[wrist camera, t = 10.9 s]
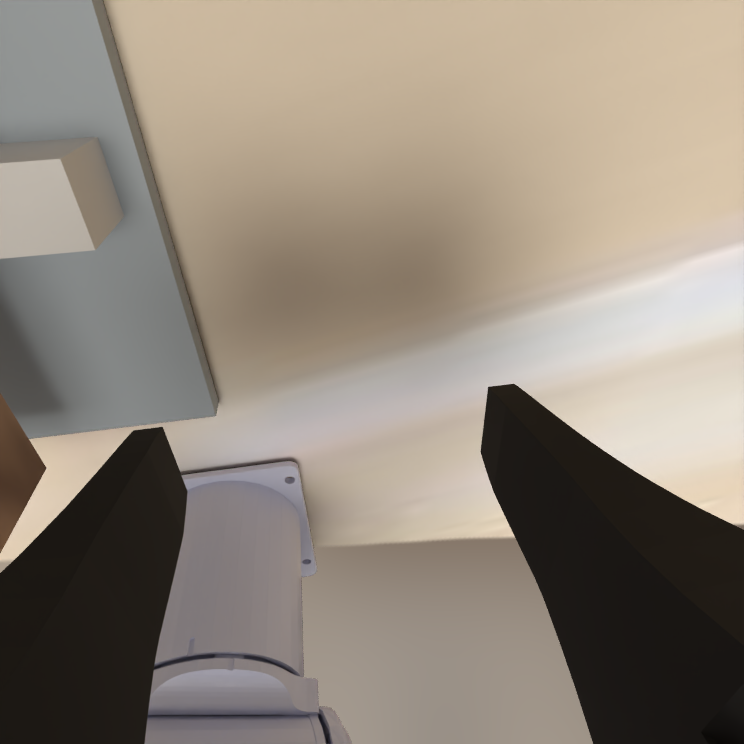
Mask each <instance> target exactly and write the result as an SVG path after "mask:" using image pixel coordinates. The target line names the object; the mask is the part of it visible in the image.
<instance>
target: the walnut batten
mask: <svg viewBox="0 0 744 744" xmlns="http://www.w3.org/2000/svg"><path fill="white" fill-rule="evenodd" d="M45 470H46V467H45V465H44V463H43V462H42V460H41V458H40V457H39V455H38V454H37V452H36V450H35V449H34V447H33V445H32V444H31V442H30V441H29V439H28V437H27V436H26V434H25V432H24V431H23V429H22V427H21V426H20V424H19V423H18V421H17V419H16V418H15V416H14V414H13V413H12V411H11V409H10V408H9V406H8V405H7V403H6V401H5V400H4V398H3V396H2V395H1V393H0V553H1V551H2V549H3V547H4V545H5V543H6V542H7V540H8V538H9V536H10V534H11V532H12V531H13V529H14V527H15V525H16V523H17V521H18V520H19V518H20V516H21V514H22V512H23V510H24V508H25V507H26V505H27V503H28V501H29V499H30V497H31V496H32V494H33V492H34V490H35V488H36V486H37V484H38V483H39V481H40V479H41V477H42V475H43V473H44V472H45Z"/></svg>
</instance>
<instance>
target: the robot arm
mask: <svg viewBox="0 0 744 744" xmlns="http://www.w3.org/2000/svg"><path fill="white" fill-rule="evenodd" d="M481 455H482V458H483V461H484V464H485V468H486V471H487V474H488V477H489V480H490V483H491V485H492V488H493V491H494V493H495V496H496V498H497V500H498V502H499V504H500V506H501V508H502V511H503V513H504V515H505V517H506V519H507V521H508V523H509V525H510V527H511V529H512V531H513V534H514V536H515V538H516V540H517V542H518V544H519V546H520V548H521V550H522V552H523V554H524V556H525V558H526V561H527V563H528V565H529V567H530V569H531V571H532V573H533V575H534V577H535V579H536V582H537V584H538V586H539V589H540V591H541V593H542V595H543V598H544V601H545V603H546V606H547V609H548V611H549V614H550V617H551V620H552V623H553V625H554V628H555V631H556V633H557V636H558V639H559V642H560V644H561V647H562V650H563V653H564V656H565V659H566V662H567V665H568V668H569V671H570V673H571V676H572V679H573V682H574V685H575V688H576V691H577V694H578V698H579V700H580V704H581V707H582V710H583V713H584V716H585V719H586V722H587V726H588V729H589V732H590V735H591V738H592V741H593V744H744V530H743V529H741V528H739V527H737V526H735V525H733V524H731V523H729V522H726V521H724V520H722V519H720V518H718V517H716V516H714V515H712V514H710V513H708V512H706V511H704V510H702V509H700V508H698V507H696V506H695V505H693V504H691V503H689V502H687V501H685V500H683V499H681V498H680V497H678V496H676V495H674V494H673V493H671V492H669V491H667V490H666V489H664V488H662V487H660V486H659V485H657V484H655V483H653V482H652V481H650V480H648V479H647V478H645V477H643V476H642V475H640V474H638V473H637V472H635V471H634V470H632V469H630V468H629V467H627V466H626V465H624V464H623V463H621V462H620V461H618V460H617V459H615V458H614V457H612V456H611V455H609V454H608V453H606V452H605V451H603V450H602V449H600V448H599V447H598V446H596V445H595V444H593V443H592V442H590V441H589V440H588V439H586V438H585V437H583V436H582V435H581V434H579V433H578V432H577V431H575V430H574V429H573V428H571V427H570V426H569V425H567V424H566V423H565V422H563V421H562V420H561V419H559V418H558V417H557V416H555V415H554V414H553V413H552V412H550V411H549V410H548V409H546V408H545V407H544V406H543V405H541V404H540V403H539V402H537V401H536V400H535V399H534V398H532V397H531V396H530V395H528V394H527V393H526V392H525V391H523V390H522V389H521V388H519V387H518V386H517V385H515V384H509V385H501V386H493V387H488V394H487V402H486V411H485V419H484V428H483V436H482V445H481ZM287 477H292V478H287ZM316 572H317V564H316V559H315V554H314V548H313V543H312V537H311V532H310V526H309V521H308V516H307V510H306V505H305V500H304V494H303V489H302V483H301V478H300V473H299V467H298V465H297V464H296V463H295V462H292V461H285V462H277V463H270V464H262V465H255V466H247V467H239V468H232V469H224V470H217V471H209V472H201V473H194V474H186V475H181V473H180V471H179V468H178V466H177V463H176V460H175V458H174V455H173V453H172V450H171V447H170V445H169V442H168V440H167V437H166V435H165V432H164V429H163V427H159V428H151V429H142V430H134V431H133V432H132V433H131V434H130V435H129V436H128V437H127V438H126V439H125V440H124V442H123V443H122V444H121V445H120V446H119V447H118V448H117V450H116V451H115V452H114V453H113V454H112V455H111V457H110V458H109V459H108V460H107V461H106V462H105V464H104V465H103V466H102V467H101V468H100V469H99V470H98V472H97V473H96V474H95V475H94V476H93V477H92V479H91V480H90V481H89V482H88V483H87V484H86V485H85V486H84V488H83V489H82V490H81V491H80V492H79V493H78V494H77V495H76V497H75V498H74V499H73V500H72V501H71V502H70V503H69V504H68V505H67V507H66V508H65V509H64V510H63V511H62V512H61V513H60V514H59V515H58V516H57V517H56V518H55V519H54V520H53V521H52V522H51V523H50V524H49V525H48V526H47V527H46V528H45V529H44V530H43V531H42V533H41V534H40V535H39V536H38V537H37V538H36V539H35V540H34V541H33V542H32V543H31V544H30V545H29V546H28V547H27V548H26V549H25V550H24V551H23V552H22V553H21V554H20V555H19V556H18V557H17V558H16V559H15V560H14V561H13V562H12V563H11V564H10V565H9V566H7V567H6V568H5V570H3V571H2V572H1V573H0V744H352V742H351V739H350V737H349V735H348V733H347V731H346V729H345V728H344V726H343V725H342V723H341V721H340V719H339V717H338V716H337V714H336V712H335V711H334V710H333V709H331V708H329V707H325V706H319V703H318V681H317V679H315V678H305V677H304V660H303V620H302V585H301V584H302V583H301V582H302V581H301V577H307V576H311V575H314V574H315V573H316Z"/></svg>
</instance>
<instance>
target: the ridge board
mask: <svg viewBox="0 0 744 744" xmlns="http://www.w3.org/2000/svg"><path fill="white" fill-rule="evenodd" d="M0 393H1V395H2V396H3V398H4V400H5V401H6V403H7V405H8V406H9V408H10V409H11V411H12V413H13V414H14V416H15V418H16V419H17V421H18V423H19V424H20V426H21V427H22V429H23V431H24V432H25V434H26V436H27V437H28V439H32V438H41V437H49V436H57V435H65V434H73V433H81V432H90V431H98V430H106V429H114V428H122V427H131V426H139V425H147V424H155V423H163V422H172V421H180V420H188V419H196V418H204V417H213V416H216V413H217V408H218V402H219V401H218V398H217V395H216V391H215V388H214V384H213V381H212V377H211V374H210V370H209V367H208V363H207V360H206V356H205V353H204V350H203V346H202V343H201V339H200V336H199V332H198V329H197V325H196V322H195V318H194V315H193V311H192V308H191V304H190V301H189V298H188V294H187V291H186V287H185V284H184V280H183V277H182V273H181V270H180V266H179V263H178V259H177V256H176V253H175V249H174V246H173V242H172V239H171V235H170V232H169V228H168V225H167V221H166V218H165V214H164V211H163V208H162V204H161V201H160V197H159V194H158V190H157V187H156V183H155V180H154V176H153V173H152V169H151V166H150V162H149V159H148V156H147V152H146V149H145V145H144V142H143V138H142V135H141V131H140V128H139V124H138V121H137V117H136V114H135V111H134V107H133V104H132V100H131V97H130V93H129V90H128V86H127V83H126V79H125V76H124V72H123V69H122V66H121V62H120V59H119V55H118V52H117V48H116V45H115V41H114V38H113V34H112V31H111V27H110V24H109V20H108V17H107V14H106V10H105V7H104V3H103V0H0Z"/></svg>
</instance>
